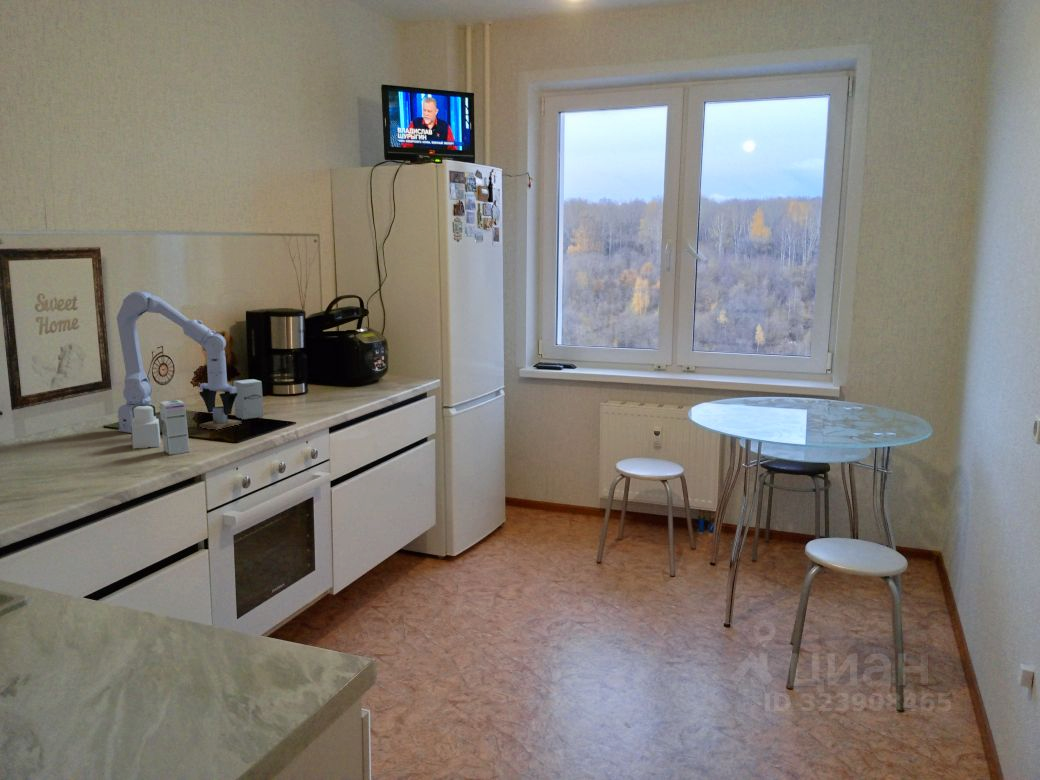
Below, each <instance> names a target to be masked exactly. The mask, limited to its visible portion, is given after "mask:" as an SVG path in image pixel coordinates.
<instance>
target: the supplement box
mask: <svg viewBox="0 0 1040 780" xmlns="http://www.w3.org/2000/svg"><path fill="white" fill-rule="evenodd" d="M232 383H233V385H232V386H234V387H236V391H237V396H236V398H235V400H234V403H233V406H234V417H236V418H238V419H240V418H241V420H243V419H244V420H248V419H258V418H263V417H264V401H263V384H262V381H261V380H258V379H254V378H252V379H251V378H250V379H243V380H242V379H241V380H234V381H233V380H232Z"/></svg>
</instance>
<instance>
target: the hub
mask: <svg viewBox="0 0 1040 780" xmlns="http://www.w3.org/2000/svg"><path fill="white" fill-rule="evenodd" d="M212 417H213V418H212V419H213V420H212V421H213V422H214V424H224V423H227V422H228V419H229V418H228V415H225V414H224V408H223V405H221V406H220V405H219V406H215V407H213V412H212Z"/></svg>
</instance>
